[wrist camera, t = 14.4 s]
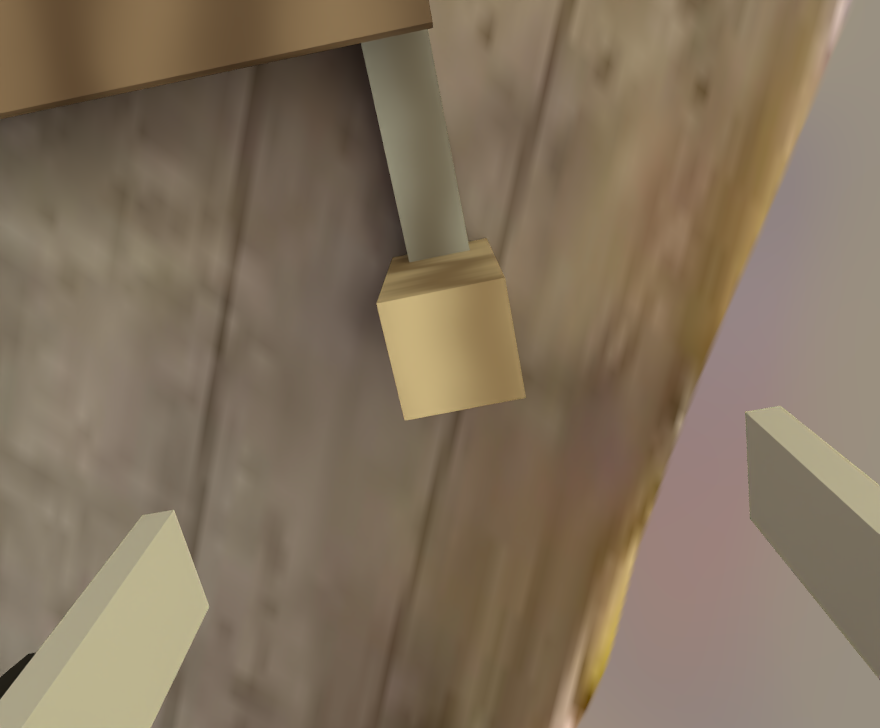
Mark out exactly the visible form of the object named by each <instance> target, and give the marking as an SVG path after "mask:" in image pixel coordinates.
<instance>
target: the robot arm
mask: <svg viewBox="0 0 880 728" xmlns="http://www.w3.org/2000/svg"><path fill="white" fill-rule="evenodd" d="M745 416H746V437H747V461H748V484H749V506H750V519H751V521H752V522H753V523H754V524H755V525H756V527H757V528H758V529H759V530H760V532H761V533H762V534H763V535H764V536H765V538H766V539H767V540H768V542H769V543H770V544H771V545H772V547H773V548H774V549H775V550H776V552H777V553H778V554H779V555H780V557H782V559H783V560H784V561H785V563H786V564H787V565H788V566H789V568H790V569H791V570H792V571H793V573H794V574H795V575H796V576H797V578H798V579H799V580H800V581H801V583H802V584H803V585H804V586H805V588H806V589H807V590H808V591H809V593H810V594H811V595H812V596H813V598H814V599H815V600H816V601H817V603H818V604H819V605H820V606H821V607H822V609H823V610H824V611H825V612H826V614H827V615H828V616H829V617H830V619H831V620H832V621H833V622H834V624H835V625H836V626H837V627H838V629H839V630H840V631H841V632H842V634H844V636H845V637H846V638H847V640H848V641H849V642H850V644H851V645H852V646H853V647H854V649H855V650H856V651H857V652H858V653H859V655H860V656H861V657H862V658H863V659H864V661H865V662H866V663H867V665H868V666H869V667H870V668H871V670H872V671H873V672H874V673H875V675H876V676H877V677H878V678H879V680H880V485H878V484H877V483H876V482H875V481H873V480H872V479H871V478H870V477H868V476H867V475H866V474H865V473H864V472H862V471H861V470H859V468H857V467H856V466H855V465H854V464H852V463H851V462H850V461H848V460H847V459H846V458H845V457H844V456H842V455H841V454H840V453H839V452H837V451H836V450H835V449H834V448H832V447H831V446H830V445H829V444H827V443H826V442H825V441H824V440H822V439H821V438H820V437H819V436H817V435H816V434H815V433H814V432H813V431H811V430H810V429H809V428H807V427H806V426H805V425H804V424H803V423H801V422H800V421H799V420H797V419H796V418H795V417H794V416H793V415H791V414H790V413H789V412H788V411H786V410H785V409H784V408H782V407H781V406H776V407H771V408H765V409H759V410H753V411H747V412H745ZM208 608H209V604H208V601H207V599H206V596H205V593H204V591H203V588H202V585H201V582H200V580H199V577H198V574H197V572H196V569H195V566H194V563H193V561H192V558H191V555H190V552H189V550H188V547H187V544H186V542H185V539H184V536H183V533H182V531H181V528H180V525H179V522H178V520H177V517H176V514H175V512H174V510H171V511H165V512H159V513H153V514H147V515H142V516H141V518H140V519H139V520H138V522H137V523H136V524H135V525H134V527H133V528H132V529H131V531H130V532H129V533H128V535H127V536H126V537H125V538H124V540H123V541H122V542H121V544H120V545H119V546H118V547H117V549H116V550H115V551H114V553H113V554H112V555H111V557H110V558H109V559H108V560H107V562H106V563H105V564H104V566H103V567H102V568H101V570H100V571H99V572H98V573H97V575H96V576H95V577H94V579H93V580H92V581H91V582H90V584H89V585H88V586H87V588H86V589H85V590H84V592H83V593H82V594H81V595H80V597H79V598H78V599H77V601H76V602H75V603H74V605H73V606H72V607H71V608H70V610H69V611H68V612H67V614H66V615H65V616H64V617H63V619H62V620H61V621H60V623H59V624H58V625H57V627H56V628H55V629H54V630H53V632H52V633H51V634H50V636H49V637H48V638H47V640H46V641H45V642H44V643H43V645H42V646H41V647H40V649H39V650H38V651H37V652H36V653H31V654H28V655H26V656H25V657H24V658H23V659H22V660H20V661H19V662H18V663H17V664H16V665H14V666H13V667H12V668H11V669H10V670H8V671H7V672H6V673H5V674H4V675H2V676H1V677H0V728H151V726H152V724H153V722H154V720H155V718H156V716H157V714H158V712H159V710H160V708H161V706H162V703H163V701H164V699H165V697H166V695H167V693H168V691H169V689H170V687H171V685H172V683H173V681H174V679H175V677H176V674H177V672H178V670H179V668H180V666H181V664H182V662H183V660H184V658H185V656H186V654H187V652H188V650H189V648H190V645H191V643H192V641H193V639H194V637H195V635H196V633H197V631H198V629H199V627H200V625H201V623H202V621H203V618H204V616H205V614H206V612H207V610H208Z"/></svg>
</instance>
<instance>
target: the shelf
mask: <svg viewBox="0 0 880 728" xmlns="http://www.w3.org/2000/svg"><path fill="white" fill-rule="evenodd" d="M430 28H433V22H432V16H431V11H430V5H429V0H0V119H3V118H8V117H13V116H17V115H22V114H27V113H32V112H36V111H41V110H46V109H51V108H55V107H60V106H65V105H70V104H74V103H79V102H84V101H89V100H93V99H98V98H103V97H107V96H112V95H117V94H122V93H126V92H131V91H136V90H141V89H145V88H150V87H155V86H160V85H164V84H169V83H174V82H179V81H183V80H188V79H193V78H198V77H202V76H207V75H212V74H216V73H221V72H226V71H231V70H235V69H240V68H245V67H250V66H254V65H259V64H264V63H269V62H273V61H278V60H283V59H288V58H292V57H297V56H302V55H306V54H311V53H316V52H321V51H325V50H330V49H335V48H340V47H344V46H349V45H354V44H359V43H363V42H368V41H373V40H378V39H382V38H387V37H392V36H396V35H401V34H406V33H411V32H415V31H420V30H425V29H430Z"/></svg>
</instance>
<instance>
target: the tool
mask: <svg viewBox="0 0 880 728" xmlns="http://www.w3.org/2000/svg"><path fill="white" fill-rule="evenodd" d="M361 46H362V50H363V55H364V59H365V64H366V68H367V73H368V77H369V82H370V86H371V91H372V95H373V100H374V105H375V109H376V114H377V118H378V123H379V127H380V132H381V136H382V141H383V145H384V150H385V154H386V159H387V163H388V168H389V172H390V177H391V181H392V186H393V191H394V195H395V200H396V204H397V209H398V213H399V218H400V222H401V227H402V231H403V236H404V240H405V245H406V249H407V255H403V256H398V257H393V258H392V261H391V264H390V266H389V269H388V272H387V275H386V278H385V281H384V283H383V286H382V289H381V292H380V295H379V298H378V301H377V303H376V304H377V308H378V312H379V316H380V320H381V325H382V329H383V333H384V337H385V341H386V345H387V349H388V354H389V358H390V362H391V366H392V370H393V374H394V378H395V382H396V387H397V391H398V395H399V399H400V403H401V407H402V411H403V416H404V420H405V421H406V420H411V419H416V418H421V417H427V416H432V415H437V414H442V413H448V412H453V411H458V410H463V409H469V408H474V407H479V406H484V405H490V404H495V403H500V402H505V401H511V400H516V399H521V398H526V396H525V390H524V384H523V379H522V373H521V367H520V362H519V356H518V350H517V344H516V339H515V333H514V327H513V322H512V316H511V310H510V304H509V299H508V293H507V287H506V282H505V277H504V275H503V273H502V271H501V269H500V266H499V264H498V262H497V260H496V258H495V256H494V254H493V251H492V249H491V247H490V245H489V243H488V241H487V239H486V238H485V239H480V240H475V241H471V242H468V238H467V233H466V228H465V223H464V217H463V212H462V207H461V202H460V196H459V191H458V186H457V181H456V175H455V170H454V165H453V160H452V154H451V149H450V144H449V139H448V133H447V128H446V123H445V118H444V112H443V107H442V102H441V96H440V91H439V86H438V81H437V75H436V70H435V65H434V60H433V54H432V49H431V44H430V39H429V33H428V29H425V30H420V31H415V32H411V33H406V34H401V35H396V36H392V37H387V38H382V39H378V40H373V41H368V42H363V43H361Z"/></svg>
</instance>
